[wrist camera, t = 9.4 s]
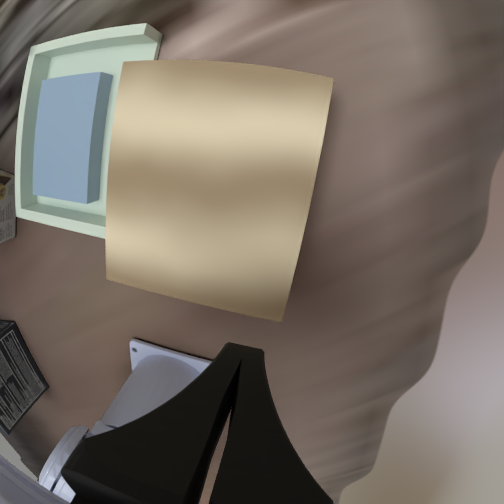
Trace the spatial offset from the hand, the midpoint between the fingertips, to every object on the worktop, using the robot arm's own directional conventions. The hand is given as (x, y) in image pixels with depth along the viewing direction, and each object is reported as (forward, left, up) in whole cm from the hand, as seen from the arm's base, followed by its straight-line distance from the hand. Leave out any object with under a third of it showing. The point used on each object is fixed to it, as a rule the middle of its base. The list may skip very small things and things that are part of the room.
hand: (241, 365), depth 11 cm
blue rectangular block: (+7, +16, -8) cm, 19 cm away
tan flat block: (+5, +4, -10) cm, 12 cm away
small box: (-20, +29, -10) cm, 37 cm away
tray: (+8, +15, -10) cm, 19 cm away
